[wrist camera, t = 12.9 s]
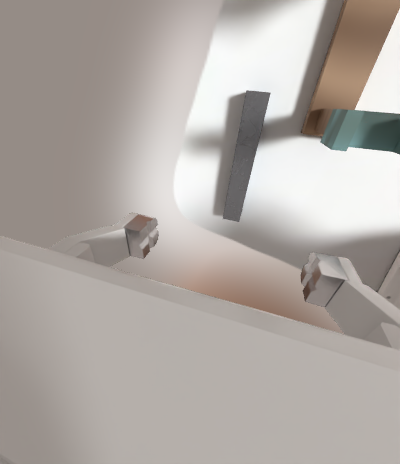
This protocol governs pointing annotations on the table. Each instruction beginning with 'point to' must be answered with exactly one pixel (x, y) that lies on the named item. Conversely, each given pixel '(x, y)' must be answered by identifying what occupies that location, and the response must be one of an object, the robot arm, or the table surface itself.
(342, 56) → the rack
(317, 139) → the table surface
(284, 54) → the table surface
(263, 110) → the rail
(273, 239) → the table surface
